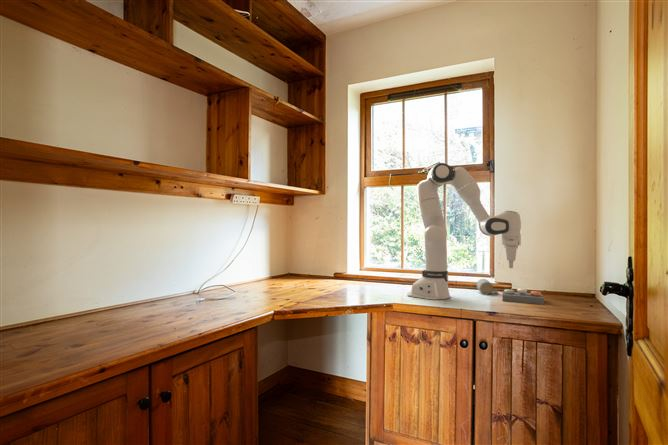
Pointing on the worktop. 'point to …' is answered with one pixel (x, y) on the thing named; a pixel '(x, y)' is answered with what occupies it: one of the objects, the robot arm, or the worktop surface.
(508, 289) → the sage button
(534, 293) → the terracotta button
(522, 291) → the ivory button
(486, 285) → the ceramic mug
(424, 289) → the robot arm
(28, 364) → the worktop surface
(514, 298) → the button panel
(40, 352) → the worktop surface
